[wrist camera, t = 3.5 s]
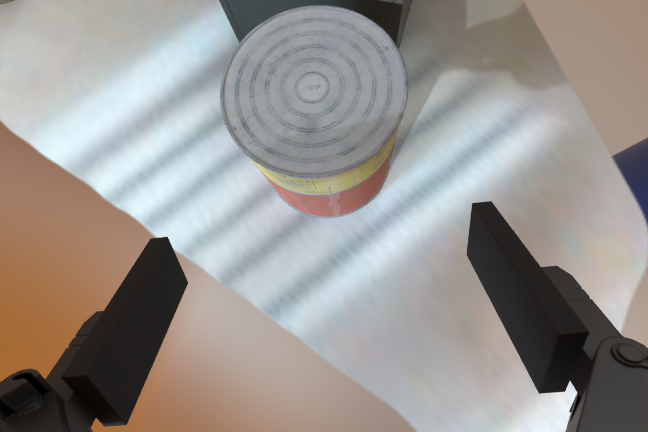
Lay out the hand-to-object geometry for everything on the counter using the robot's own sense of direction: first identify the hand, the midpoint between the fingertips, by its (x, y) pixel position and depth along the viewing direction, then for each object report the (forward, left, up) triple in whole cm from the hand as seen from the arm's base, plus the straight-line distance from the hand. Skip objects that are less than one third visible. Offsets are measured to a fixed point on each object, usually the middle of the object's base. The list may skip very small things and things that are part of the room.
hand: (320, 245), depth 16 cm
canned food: (+4, -9, -16) cm, 19 cm away
